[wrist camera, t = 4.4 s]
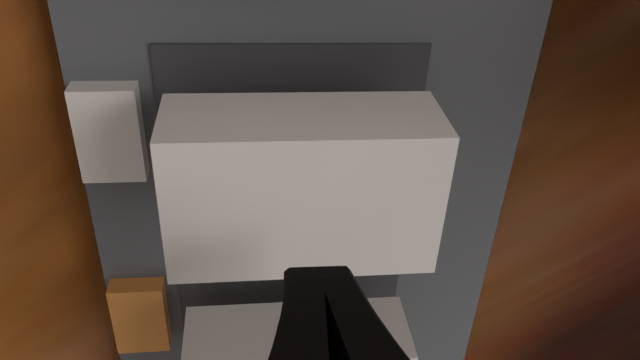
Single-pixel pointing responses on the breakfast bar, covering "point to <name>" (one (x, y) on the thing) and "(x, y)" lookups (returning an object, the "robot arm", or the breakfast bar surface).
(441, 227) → the button
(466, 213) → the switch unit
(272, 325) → the button
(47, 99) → the breakfast bar surface
